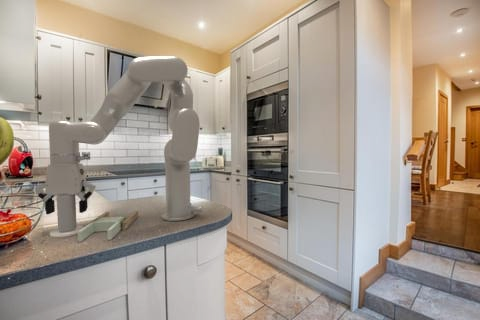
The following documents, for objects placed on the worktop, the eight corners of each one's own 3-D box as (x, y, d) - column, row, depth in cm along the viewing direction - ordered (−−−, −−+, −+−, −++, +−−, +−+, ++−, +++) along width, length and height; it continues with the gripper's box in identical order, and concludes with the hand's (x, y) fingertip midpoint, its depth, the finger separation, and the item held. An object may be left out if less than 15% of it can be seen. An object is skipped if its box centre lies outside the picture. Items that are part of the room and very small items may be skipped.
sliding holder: (126, 224, 82) (126, 216, 82) (111, 239, 68) (110, 229, 68) (99, 225, 80) (98, 217, 80) (77, 241, 67) (77, 231, 66)
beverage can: (65, 227, 76) (63, 192, 76) (80, 227, 77) (78, 192, 76) (54, 233, 72) (52, 195, 71) (70, 232, 72) (68, 194, 71)
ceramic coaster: (89, 226, 80) (89, 224, 80) (75, 236, 71) (75, 234, 71) (60, 228, 78) (60, 226, 78) (42, 238, 69) (42, 235, 69)
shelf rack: (138, 216, 92) (138, 210, 92) (125, 229, 77) (125, 222, 77) (105, 218, 90) (105, 212, 90) (87, 231, 75) (86, 224, 75)
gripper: (99, 159, 79) (100, 208, 79) (42, 159, 76) (44, 210, 76) (88, 160, 71) (90, 214, 72) (25, 160, 68) (28, 217, 69)
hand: (66, 212), depth 74 cm, fingers open, 9 cm apart
